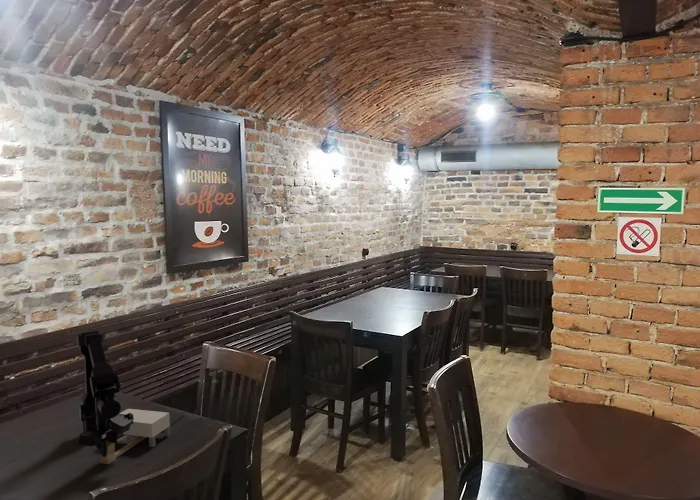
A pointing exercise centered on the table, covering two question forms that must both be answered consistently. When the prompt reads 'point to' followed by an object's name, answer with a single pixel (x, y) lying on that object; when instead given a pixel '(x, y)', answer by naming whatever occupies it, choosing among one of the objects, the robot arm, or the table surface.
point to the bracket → (175, 420)
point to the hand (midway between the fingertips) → (108, 454)
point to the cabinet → (148, 424)
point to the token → (127, 439)
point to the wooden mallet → (112, 454)
